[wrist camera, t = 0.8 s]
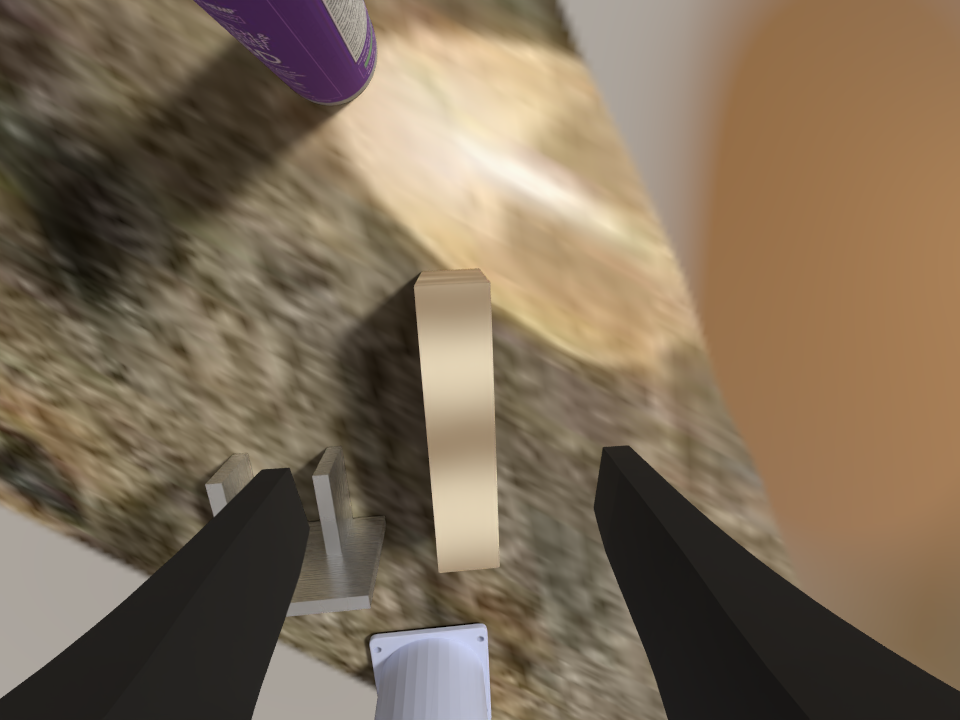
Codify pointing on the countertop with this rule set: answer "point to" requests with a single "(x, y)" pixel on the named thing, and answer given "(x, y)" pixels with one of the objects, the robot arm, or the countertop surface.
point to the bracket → (321, 537)
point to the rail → (459, 415)
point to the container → (306, 42)
